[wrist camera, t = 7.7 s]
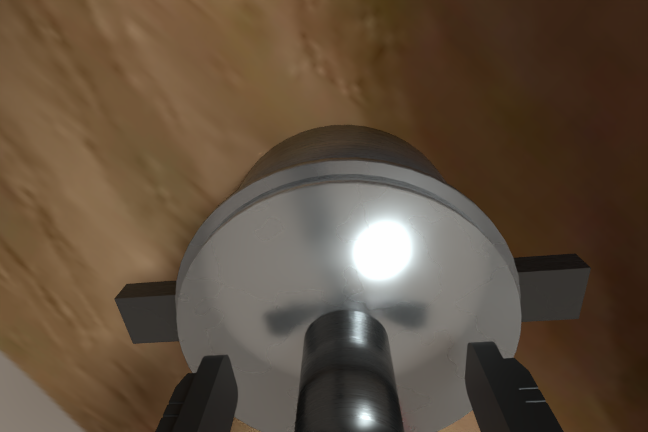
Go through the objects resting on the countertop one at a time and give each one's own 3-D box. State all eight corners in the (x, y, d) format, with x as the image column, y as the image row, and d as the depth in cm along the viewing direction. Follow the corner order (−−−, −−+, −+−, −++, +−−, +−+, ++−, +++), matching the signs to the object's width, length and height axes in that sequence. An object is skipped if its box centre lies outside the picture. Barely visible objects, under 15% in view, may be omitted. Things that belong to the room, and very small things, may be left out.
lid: (145, 189, 12) (32, 281, 8) (530, 157, 11) (658, 238, 7) (224, 432, 17) (185, 573, 13) (493, 422, 16) (552, 569, 12)
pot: (144, 134, 18) (45, 186, 12) (532, 97, 17) (646, 133, 11) (205, 334, 24) (159, 441, 18) (503, 317, 23) (567, 426, 16)
